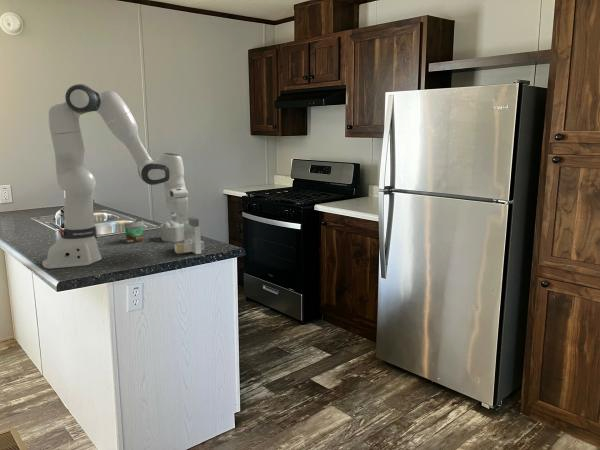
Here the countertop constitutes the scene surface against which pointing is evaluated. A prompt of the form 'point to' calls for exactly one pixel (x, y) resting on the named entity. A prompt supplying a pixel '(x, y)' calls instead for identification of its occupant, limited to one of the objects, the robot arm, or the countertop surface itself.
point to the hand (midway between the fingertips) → (177, 222)
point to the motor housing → (193, 234)
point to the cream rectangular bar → (186, 247)
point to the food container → (134, 231)
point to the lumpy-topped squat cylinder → (172, 231)
